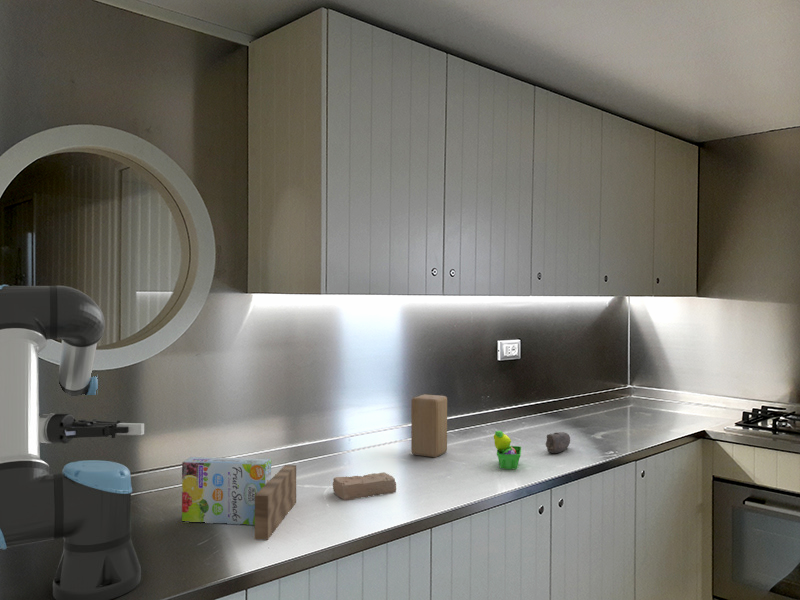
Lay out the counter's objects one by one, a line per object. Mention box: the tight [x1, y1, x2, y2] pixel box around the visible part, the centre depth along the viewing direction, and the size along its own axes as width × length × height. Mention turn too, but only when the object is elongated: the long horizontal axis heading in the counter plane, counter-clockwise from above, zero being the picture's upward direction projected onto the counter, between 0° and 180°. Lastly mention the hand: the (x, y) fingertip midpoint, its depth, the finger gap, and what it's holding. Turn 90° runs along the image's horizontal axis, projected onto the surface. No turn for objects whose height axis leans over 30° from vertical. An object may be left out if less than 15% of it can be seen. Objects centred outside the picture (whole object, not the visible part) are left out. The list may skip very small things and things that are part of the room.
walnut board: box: [254, 464, 297, 541], centre depth 156 cm, size 26×3×10 cm, turn 175°
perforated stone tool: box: [545, 431, 571, 454], centre depth 226 cm, size 15×5×7 cm, turn 137°
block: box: [410, 393, 448, 458], centre depth 222 cm, size 10×10×20 cm
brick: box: [332, 472, 397, 501], centre depth 178 cm, size 17×8×5 cm, turn 117°
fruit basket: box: [493, 430, 522, 470], centre depth 207 cm, size 11×9×11 cm
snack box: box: [181, 456, 272, 526], centre depth 155 cm, size 21×6×15 cm, turn 84°
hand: (142, 429), depth 159 cm, fingers closed
